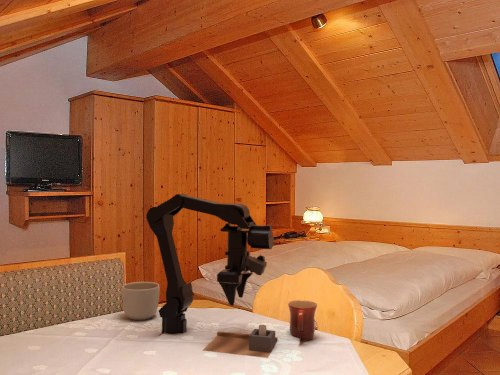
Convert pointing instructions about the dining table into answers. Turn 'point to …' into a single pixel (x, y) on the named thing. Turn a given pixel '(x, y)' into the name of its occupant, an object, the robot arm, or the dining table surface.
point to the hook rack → (236, 343)
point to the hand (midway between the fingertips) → (236, 301)
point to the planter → (140, 300)
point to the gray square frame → (262, 341)
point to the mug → (302, 319)
